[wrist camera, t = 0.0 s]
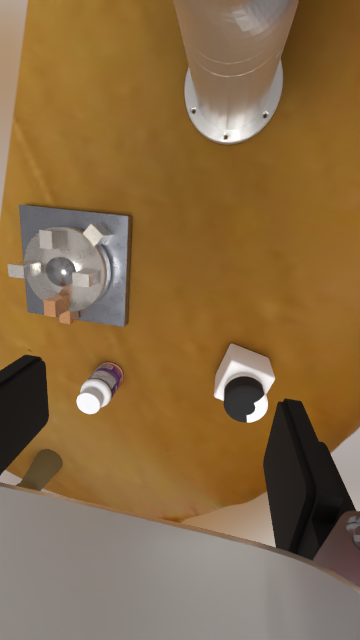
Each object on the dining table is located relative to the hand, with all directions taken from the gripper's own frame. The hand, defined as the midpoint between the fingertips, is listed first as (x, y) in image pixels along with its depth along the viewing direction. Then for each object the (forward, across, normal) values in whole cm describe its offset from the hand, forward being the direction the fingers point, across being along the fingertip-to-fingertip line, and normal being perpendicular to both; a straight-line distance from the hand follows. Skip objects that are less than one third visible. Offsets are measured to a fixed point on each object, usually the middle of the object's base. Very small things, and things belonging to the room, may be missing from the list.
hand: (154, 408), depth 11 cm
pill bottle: (+37, +16, +22) cm, 46 cm away
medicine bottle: (+37, -8, +16) cm, 41 cm away
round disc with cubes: (+34, +22, +3) cm, 41 cm away
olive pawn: (+37, +30, +47) cm, 67 cm away
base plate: (+37, +22, +2) cm, 43 cm away
